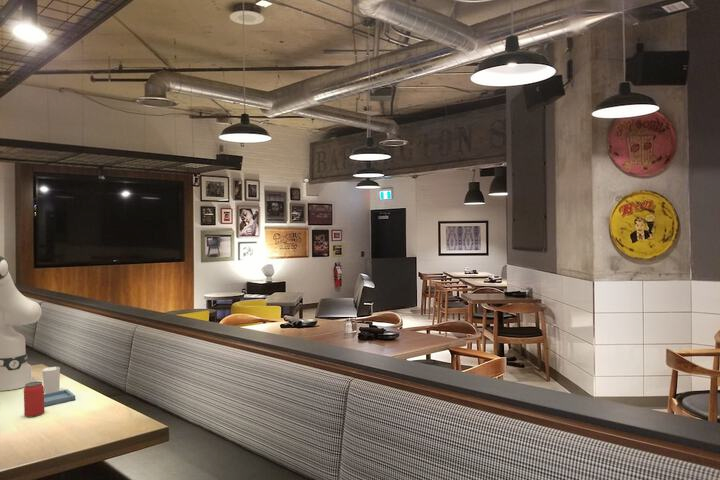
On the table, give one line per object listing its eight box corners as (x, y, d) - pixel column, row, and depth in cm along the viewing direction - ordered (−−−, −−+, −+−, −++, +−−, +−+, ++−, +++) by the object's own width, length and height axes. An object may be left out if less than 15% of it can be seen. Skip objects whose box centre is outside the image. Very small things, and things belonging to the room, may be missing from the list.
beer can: (34, 418, 196) (33, 386, 195) (20, 417, 197) (19, 385, 197) (48, 411, 202) (47, 381, 202) (34, 411, 203) (33, 380, 203)
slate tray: (35, 400, 216) (35, 395, 216) (67, 393, 224) (67, 389, 224) (42, 407, 207) (42, 402, 207) (75, 400, 216) (75, 395, 216)
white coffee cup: (64, 389, 231) (63, 367, 230) (51, 394, 224) (50, 371, 224) (52, 388, 232) (51, 366, 232) (39, 393, 226) (38, 370, 226)
